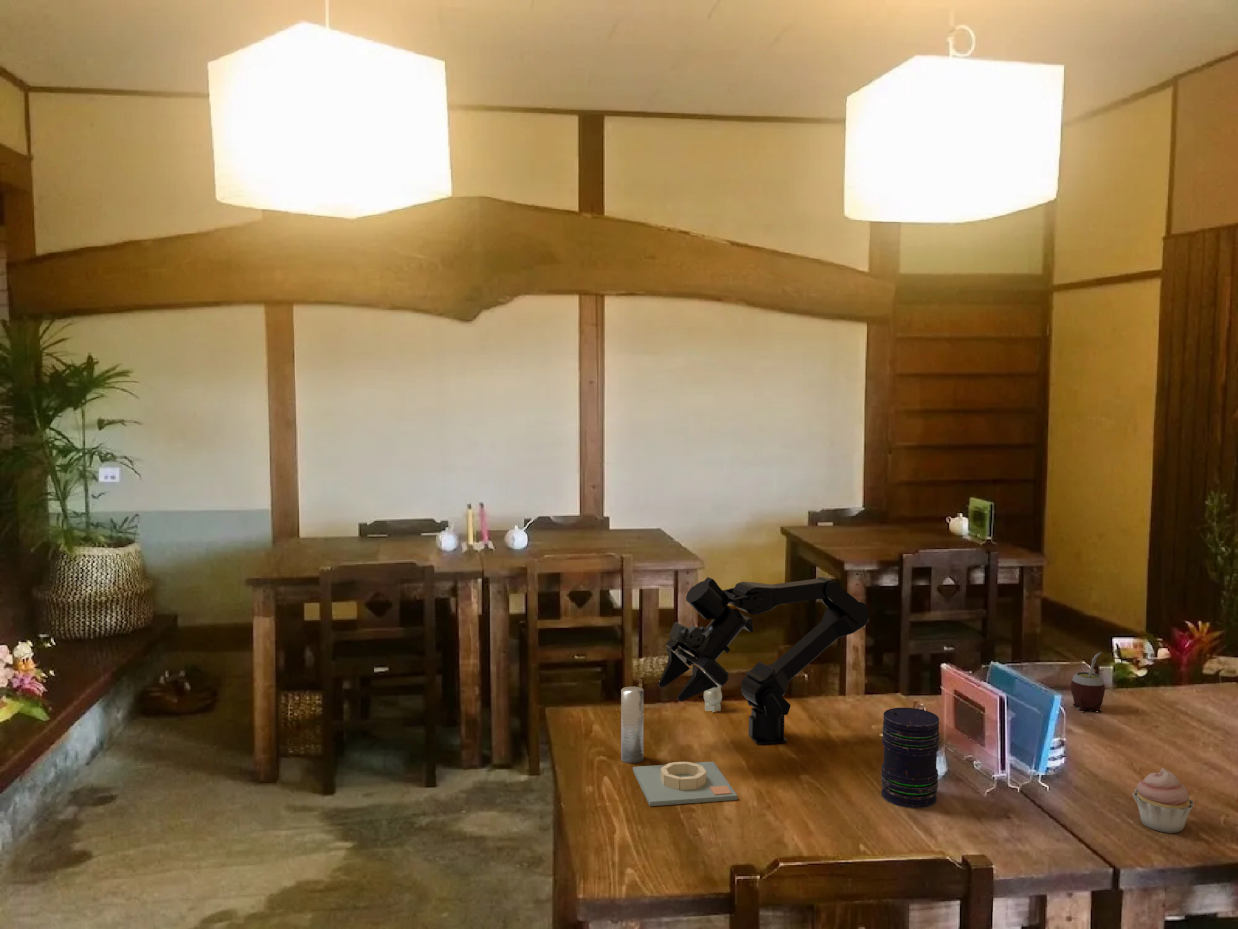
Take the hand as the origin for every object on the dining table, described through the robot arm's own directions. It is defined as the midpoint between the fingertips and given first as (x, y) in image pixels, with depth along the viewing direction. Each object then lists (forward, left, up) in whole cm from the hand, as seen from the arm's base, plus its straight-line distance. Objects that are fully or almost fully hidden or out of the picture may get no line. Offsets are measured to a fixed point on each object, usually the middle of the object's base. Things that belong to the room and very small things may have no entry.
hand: (669, 693), depth 200 cm
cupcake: (-75, +46, -13) cm, 89 cm away
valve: (-16, -28, -13) cm, 35 cm away
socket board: (+1, +16, -12) cm, 20 cm away
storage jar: (-38, +28, -13) cm, 49 cm away
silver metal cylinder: (+8, +2, -12) cm, 15 cm away
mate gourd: (-100, -9, -13) cm, 101 cm away
